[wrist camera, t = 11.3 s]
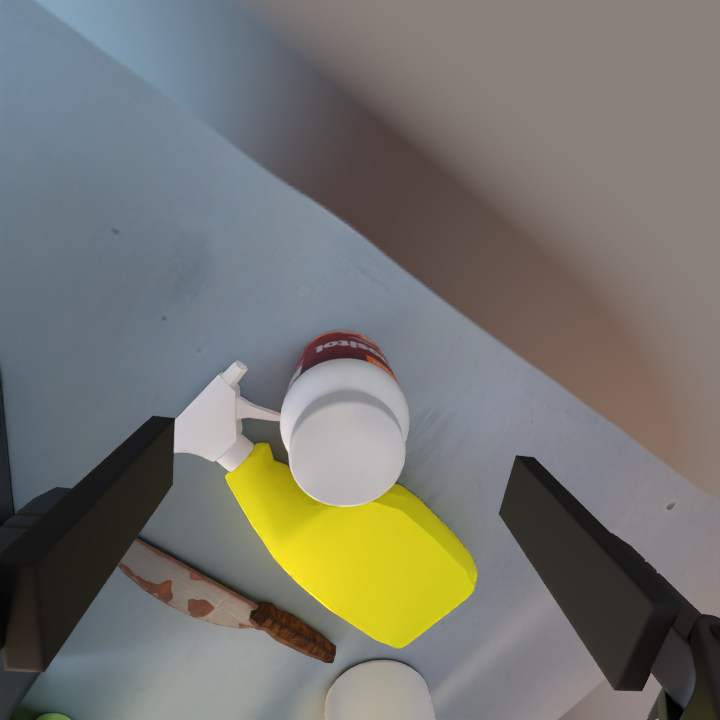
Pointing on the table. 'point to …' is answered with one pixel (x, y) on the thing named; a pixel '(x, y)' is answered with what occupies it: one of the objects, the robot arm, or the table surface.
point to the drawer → (4, 473)
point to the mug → (379, 693)
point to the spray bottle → (333, 527)
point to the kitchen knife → (217, 601)
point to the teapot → (53, 717)
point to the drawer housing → (13, 688)
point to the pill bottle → (344, 420)
